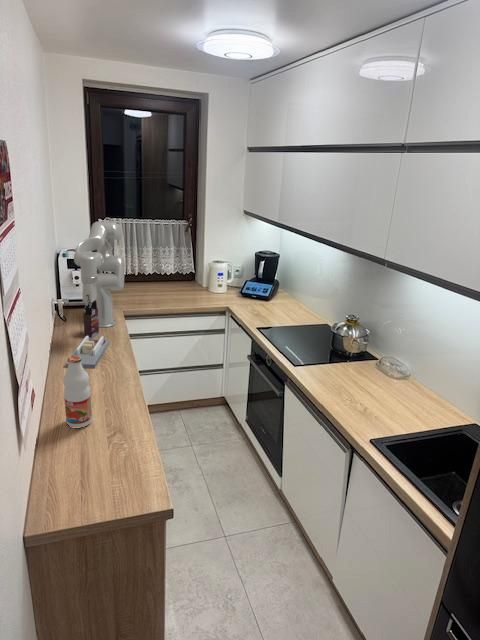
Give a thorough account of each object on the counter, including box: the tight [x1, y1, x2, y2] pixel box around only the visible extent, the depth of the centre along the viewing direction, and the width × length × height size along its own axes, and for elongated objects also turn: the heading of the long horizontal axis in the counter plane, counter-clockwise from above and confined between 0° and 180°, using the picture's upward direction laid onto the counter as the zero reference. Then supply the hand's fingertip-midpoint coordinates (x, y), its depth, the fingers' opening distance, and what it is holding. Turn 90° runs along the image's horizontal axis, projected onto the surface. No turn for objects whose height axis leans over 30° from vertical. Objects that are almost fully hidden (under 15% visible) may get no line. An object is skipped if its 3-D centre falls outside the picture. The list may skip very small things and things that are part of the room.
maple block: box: [82, 341, 95, 354], centre depth 225 cm, size 6×4×4 cm
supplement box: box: [82, 308, 100, 339], centre depth 247 cm, size 9×5×16 cm, turn 168°
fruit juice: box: [62, 354, 93, 427], centre depth 166 cm, size 9×9×28 cm
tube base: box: [65, 335, 111, 369], centre depth 226 cm, size 31×14×5 cm, turn 3°
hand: (91, 311), depth 228 cm, fingers open, 8 cm apart
